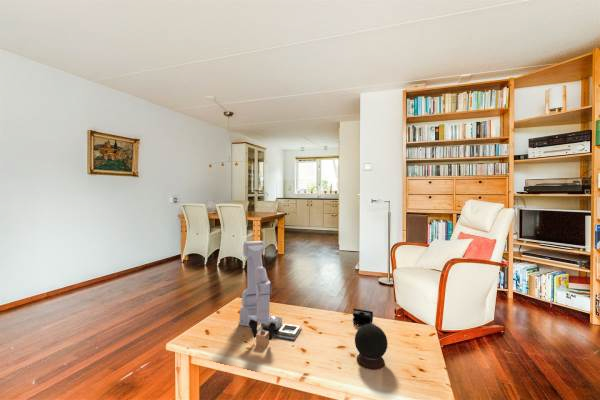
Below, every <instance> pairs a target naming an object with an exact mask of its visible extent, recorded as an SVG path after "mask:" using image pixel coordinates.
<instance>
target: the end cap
mask: <svg viewBox="0 0 600 400" xmlns="http://www.w3.org/2000/svg"><path fill="white" fill-rule="evenodd" d="M352 317H353V318H352V321H353V322H352V324H353V323H354V324H353V325H356V324H358V325H357V326H361V325H366V324H372V323H373V320H374V312H373V311H372V310H367V309H362V308H361V309H360V308H356V307H355V308H353V312H352Z"/></svg>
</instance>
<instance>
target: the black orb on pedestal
mask: <svg viewBox="0 0 600 400" xmlns="http://www.w3.org/2000/svg"><path fill="white" fill-rule="evenodd" d="M355 332H356V333H355V335H354V344H355V348H356V350H357V352H358V355H356V362H357V364H358V365H359V366H360V367H362V368H364V369H366V370H370V371H371V370H372V371H377V370H380V369H383V368H384V366H385V359H384V358H383V356H384V355H385V353H386V352H387V349H388V345H389V344H388V337H387V335H386V333H385V331H383V329H382V328H381V327H379V326H377V325H375V324H372V323H371V324H366V325H363V326H360V327H359V328H358V329H357V330H356V331H355Z"/></svg>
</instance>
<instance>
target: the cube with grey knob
mask: <svg viewBox="0 0 600 400" xmlns="http://www.w3.org/2000/svg"><path fill="white" fill-rule="evenodd" d="M269 343H270V340H269V331H265V330H260V331H259V332H258V333H257V334H256V337H255V344H256V345H255V346H256V347H257V346H258V347H262V348H266V347H267V345H268V344H269Z"/></svg>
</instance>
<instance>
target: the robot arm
mask: <svg viewBox="0 0 600 400" xmlns="http://www.w3.org/2000/svg"><path fill="white" fill-rule="evenodd" d="M242 249H243V250H242V251H243V252H242V254H243V257H246V263H247V265H246V267H247V269H246V271H247V275H246V277H247V278H246V279H247V282H246V283H247V287H246V288H245V289H244V290H243V291H242V294H241V305H242V306H241V307H240V310H239V322H238V326H243V327H250V330H251V333H252V337H253V338H255V339H256V334H257V330H258V325H259V324H261V323H270V325H269V326H268V329H269V341H271V340H273V337H272V336H273V332H274V329H275V327H276V325H278V324H279V319H275V318H272V317H269V316H270V303H271V301H270V300H271V297H270V296H271V295H272V291H273V290H272V289H273V288H272V284H271V283H272V282H271V281H270V279H269V278H268V274H267V270H266V268H265V267H264V266H263V257H262V256H263V253H264V250H265V245H264V241H263V240H254V241H253V240H252V241H251V240H250V241H244V242H243V245H242Z"/></svg>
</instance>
